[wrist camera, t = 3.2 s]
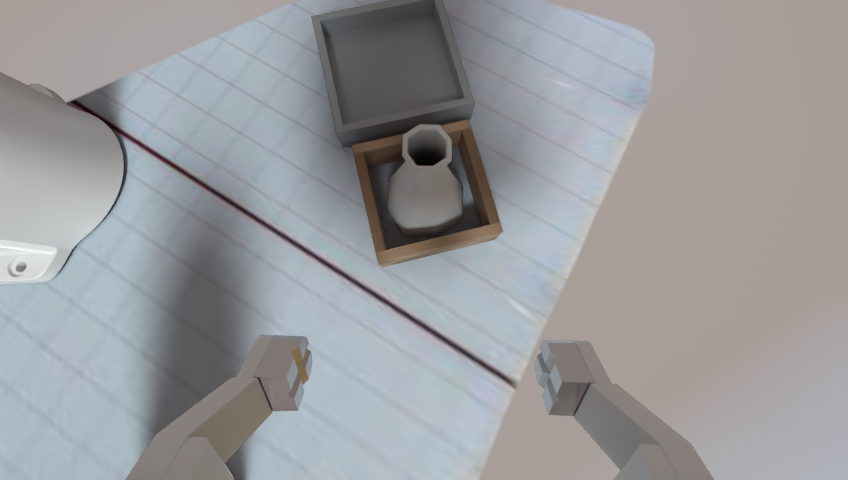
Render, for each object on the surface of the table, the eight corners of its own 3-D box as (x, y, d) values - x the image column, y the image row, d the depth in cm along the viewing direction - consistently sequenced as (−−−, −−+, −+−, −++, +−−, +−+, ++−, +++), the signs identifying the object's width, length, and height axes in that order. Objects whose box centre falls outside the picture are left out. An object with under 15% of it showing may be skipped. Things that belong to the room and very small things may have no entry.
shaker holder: (382, 267, 28) (377, 262, 25) (358, 161, 30) (351, 145, 27) (494, 239, 29) (502, 231, 26) (463, 137, 31) (468, 119, 28)
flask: (375, 174, 30) (354, 110, 20) (450, 153, 31) (464, 81, 21) (397, 248, 29) (386, 218, 19) (475, 225, 29) (503, 183, 20)
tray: (343, 147, 31) (336, 133, 28) (319, 37, 33) (311, 16, 31) (470, 119, 31) (474, 103, 29) (437, 14, 34) (439, -9, 31)
